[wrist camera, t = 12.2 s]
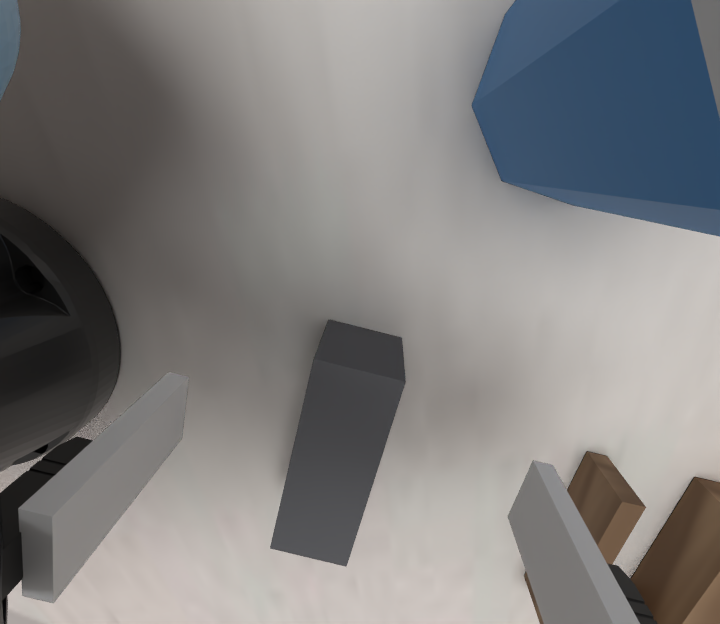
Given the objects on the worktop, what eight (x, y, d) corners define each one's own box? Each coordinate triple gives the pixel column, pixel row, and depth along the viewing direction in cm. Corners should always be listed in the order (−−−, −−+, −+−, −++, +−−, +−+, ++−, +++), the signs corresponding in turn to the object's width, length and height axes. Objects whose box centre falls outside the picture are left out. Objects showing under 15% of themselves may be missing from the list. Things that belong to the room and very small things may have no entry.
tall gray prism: (291, 479, 26) (270, 548, 21) (329, 318, 22) (313, 358, 18) (353, 494, 26) (346, 566, 22) (401, 336, 23) (405, 381, 18)
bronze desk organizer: (524, 575, 27) (545, 638, 24) (586, 451, 24) (622, 501, 20) (757, 629, 28) (812, 698, 24) (850, 514, 24) (931, 574, 21)
